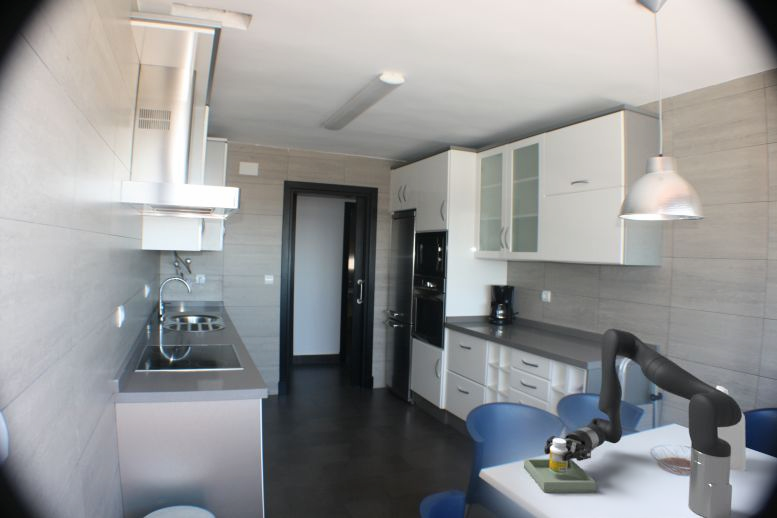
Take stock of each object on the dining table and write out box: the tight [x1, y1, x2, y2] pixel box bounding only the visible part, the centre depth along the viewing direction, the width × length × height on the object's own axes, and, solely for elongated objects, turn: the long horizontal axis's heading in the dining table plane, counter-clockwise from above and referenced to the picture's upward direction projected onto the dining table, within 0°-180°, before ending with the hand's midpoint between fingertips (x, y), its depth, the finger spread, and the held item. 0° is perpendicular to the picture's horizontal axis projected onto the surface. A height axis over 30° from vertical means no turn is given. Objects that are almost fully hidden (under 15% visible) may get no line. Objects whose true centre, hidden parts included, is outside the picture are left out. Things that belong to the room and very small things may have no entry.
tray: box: [523, 458, 597, 493], centre depth 150 cm, size 16×16×3 cm
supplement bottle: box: [549, 437, 568, 475], centre depth 150 cm, size 5×5×10 cm
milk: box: [715, 385, 747, 472], centre depth 168 cm, size 12×12×26 cm
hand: (554, 454), depth 148 cm, fingers closed on supplement bottle, 5 cm apart
